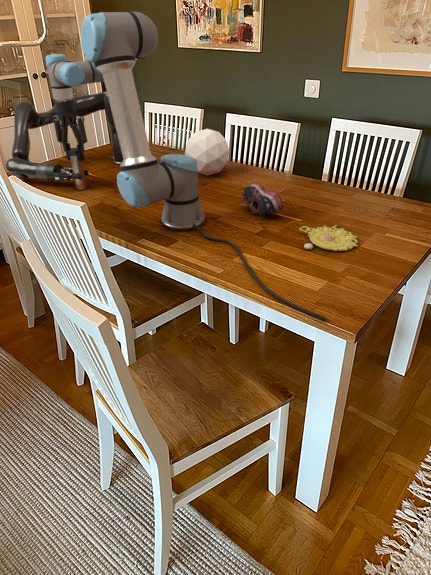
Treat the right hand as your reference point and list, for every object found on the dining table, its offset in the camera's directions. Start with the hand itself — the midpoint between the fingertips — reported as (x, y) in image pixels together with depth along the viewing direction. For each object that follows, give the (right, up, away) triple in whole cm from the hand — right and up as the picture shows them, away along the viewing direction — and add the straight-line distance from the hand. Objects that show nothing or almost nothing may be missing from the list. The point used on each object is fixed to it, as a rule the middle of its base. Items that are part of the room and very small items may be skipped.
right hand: (76, 160), depth 182 cm
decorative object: (+94, -37, -40) cm, 109 cm away
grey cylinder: (0, -10, +6) cm, 12 cm away
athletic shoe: (+73, -24, -19) cm, 79 cm away
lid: (0, +3, -2) cm, 4 cm away
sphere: (+54, -1, +18) cm, 57 cm away
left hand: (+3, -5, +2) cm, 7 cm away
